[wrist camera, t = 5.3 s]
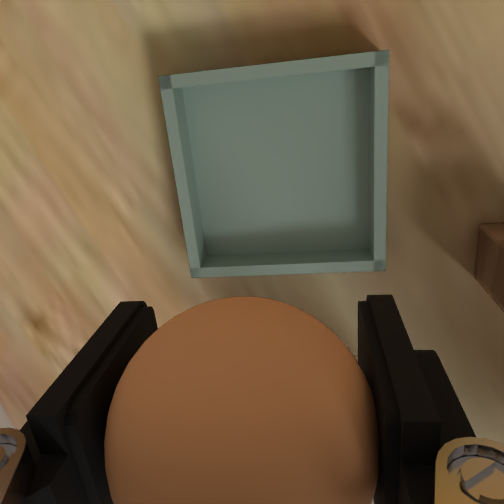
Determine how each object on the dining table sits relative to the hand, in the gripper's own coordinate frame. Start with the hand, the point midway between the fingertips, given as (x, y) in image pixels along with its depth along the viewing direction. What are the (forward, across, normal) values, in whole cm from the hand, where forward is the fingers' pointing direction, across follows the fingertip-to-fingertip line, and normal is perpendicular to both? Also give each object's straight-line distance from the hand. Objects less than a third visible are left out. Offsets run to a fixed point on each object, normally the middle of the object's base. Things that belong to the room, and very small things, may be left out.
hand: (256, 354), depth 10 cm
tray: (+22, +1, 0) cm, 22 cm away
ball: (-2, 0, 0) cm, 2 cm away
